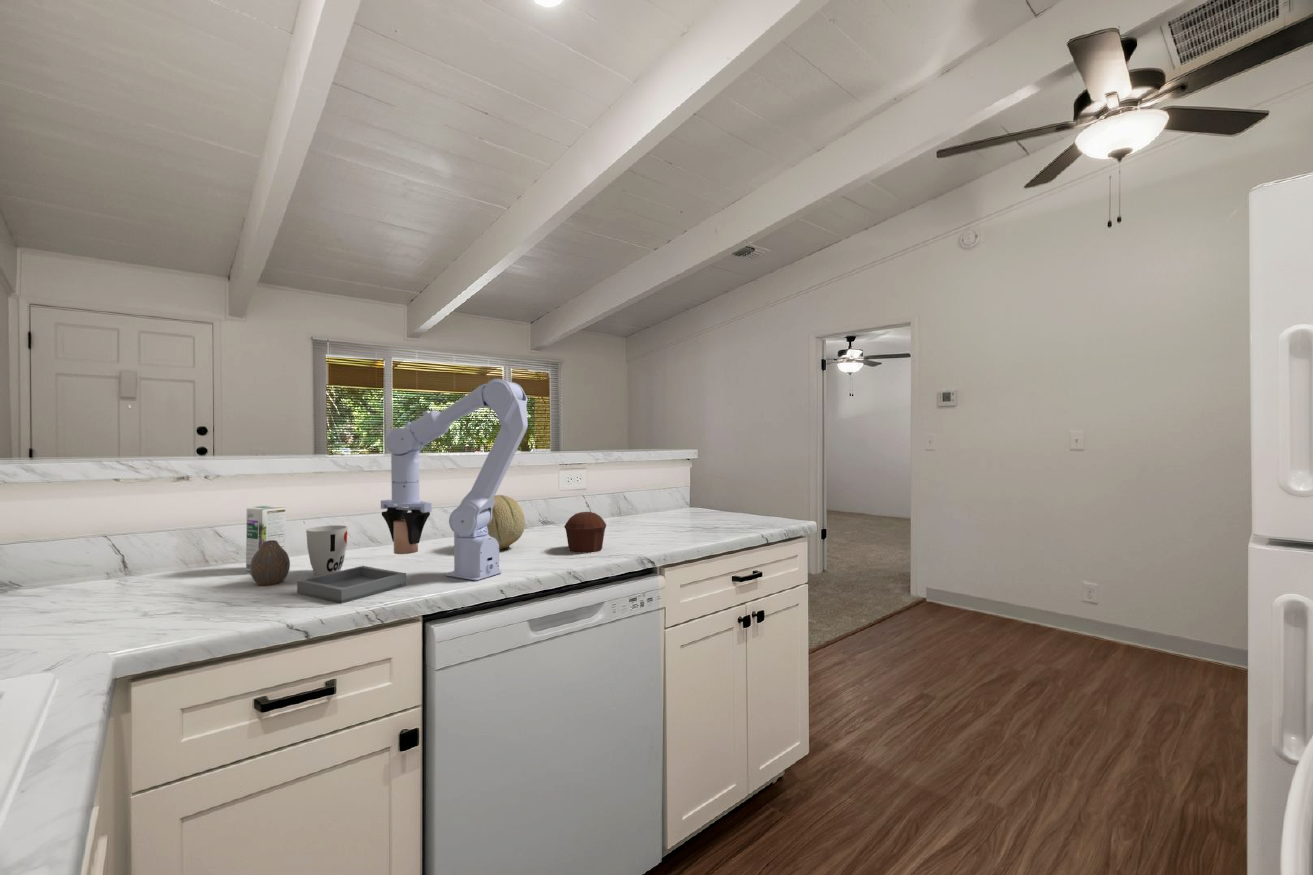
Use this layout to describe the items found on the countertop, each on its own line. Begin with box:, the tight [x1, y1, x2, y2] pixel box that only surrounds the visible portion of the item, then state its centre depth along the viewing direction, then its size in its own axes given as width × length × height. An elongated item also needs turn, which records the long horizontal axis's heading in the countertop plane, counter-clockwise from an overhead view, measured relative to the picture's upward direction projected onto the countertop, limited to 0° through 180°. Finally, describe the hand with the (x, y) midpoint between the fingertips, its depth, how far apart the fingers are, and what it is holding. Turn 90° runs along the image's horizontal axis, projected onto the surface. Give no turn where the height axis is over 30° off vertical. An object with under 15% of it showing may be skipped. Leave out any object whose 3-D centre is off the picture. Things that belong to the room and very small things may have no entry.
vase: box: [249, 540, 291, 586], centre depth 120 cm, size 7×7×9 cm
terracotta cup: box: [393, 519, 419, 555], centre depth 128 cm, size 5×5×7 cm
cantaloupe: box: [487, 494, 526, 550], centre depth 155 cm, size 15×15×15 cm
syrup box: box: [245, 505, 287, 572], centre depth 131 cm, size 6×6×14 cm
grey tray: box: [296, 565, 407, 604], centre depth 115 cm, size 14×14×2 cm
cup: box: [305, 524, 349, 576], centre depth 129 cm, size 8×8×10 cm
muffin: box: [564, 511, 607, 554], centre depth 154 cm, size 12×11×10 cm
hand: (405, 542), depth 128 cm, fingers closed on terracotta cup, 5 cm apart
